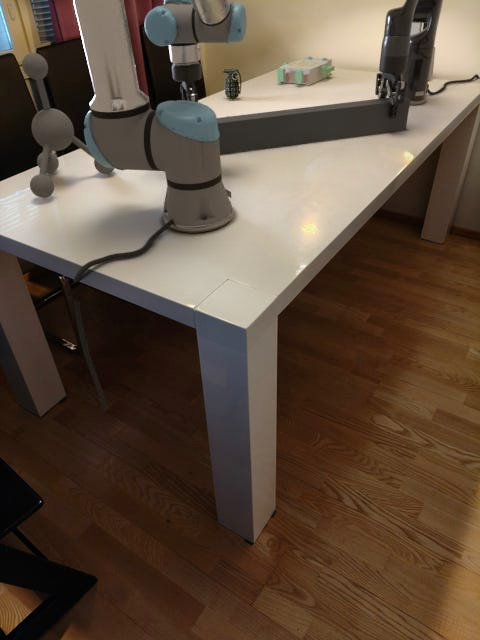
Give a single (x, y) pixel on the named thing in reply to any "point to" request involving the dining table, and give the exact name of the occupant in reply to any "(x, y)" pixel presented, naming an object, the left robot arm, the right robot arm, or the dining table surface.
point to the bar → (309, 125)
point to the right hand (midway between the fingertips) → (386, 114)
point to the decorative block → (305, 71)
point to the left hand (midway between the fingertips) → (195, 152)
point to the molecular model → (50, 131)
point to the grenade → (232, 83)
